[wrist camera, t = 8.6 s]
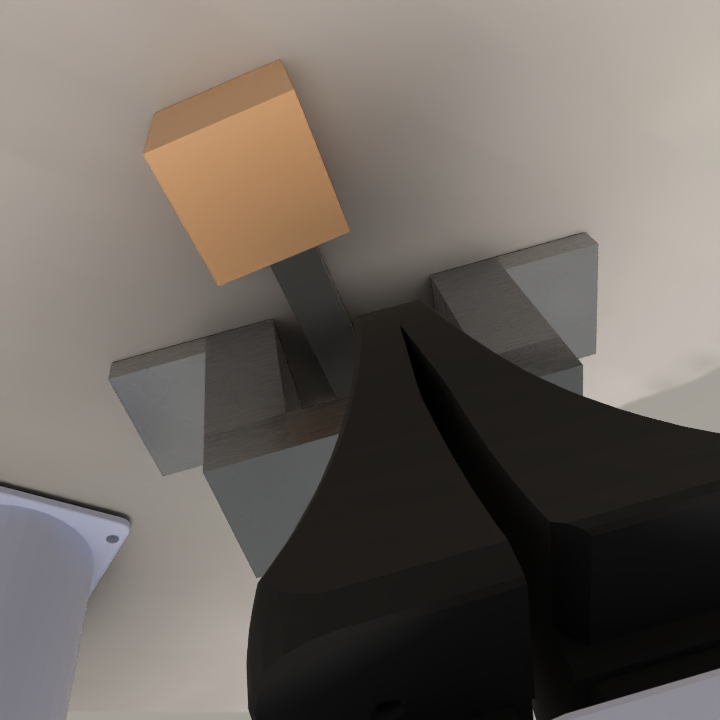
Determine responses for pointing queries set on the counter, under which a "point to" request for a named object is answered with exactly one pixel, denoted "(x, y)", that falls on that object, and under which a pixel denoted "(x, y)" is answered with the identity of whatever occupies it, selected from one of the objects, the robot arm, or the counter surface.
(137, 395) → the mounting bracket
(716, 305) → the counter surface
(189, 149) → the plug
